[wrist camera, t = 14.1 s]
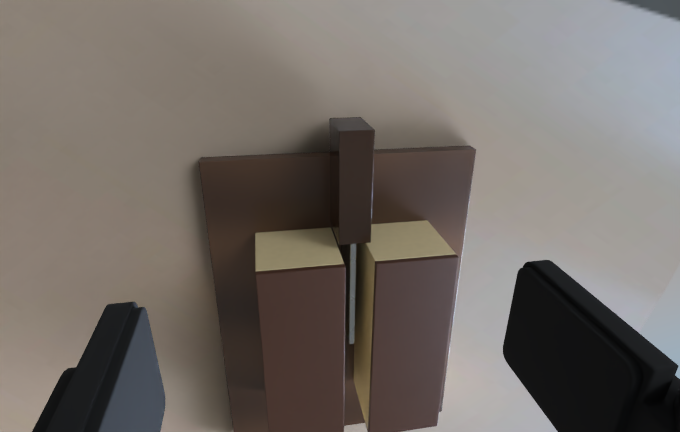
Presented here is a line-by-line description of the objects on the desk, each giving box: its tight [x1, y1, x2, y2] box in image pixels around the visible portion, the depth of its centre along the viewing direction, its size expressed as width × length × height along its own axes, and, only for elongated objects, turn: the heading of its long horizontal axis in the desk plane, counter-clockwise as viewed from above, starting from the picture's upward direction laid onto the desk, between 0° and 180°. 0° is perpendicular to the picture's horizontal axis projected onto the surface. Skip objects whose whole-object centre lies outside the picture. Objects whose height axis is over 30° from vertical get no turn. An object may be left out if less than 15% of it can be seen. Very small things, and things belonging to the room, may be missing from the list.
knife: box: [329, 117, 375, 344], centre depth 29 cm, size 15×2×4 cm, turn 0°
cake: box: [255, 220, 459, 432], centre depth 31 cm, size 14×12×5 cm
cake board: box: [199, 146, 476, 432], centre depth 34 cm, size 24×18×1 cm
